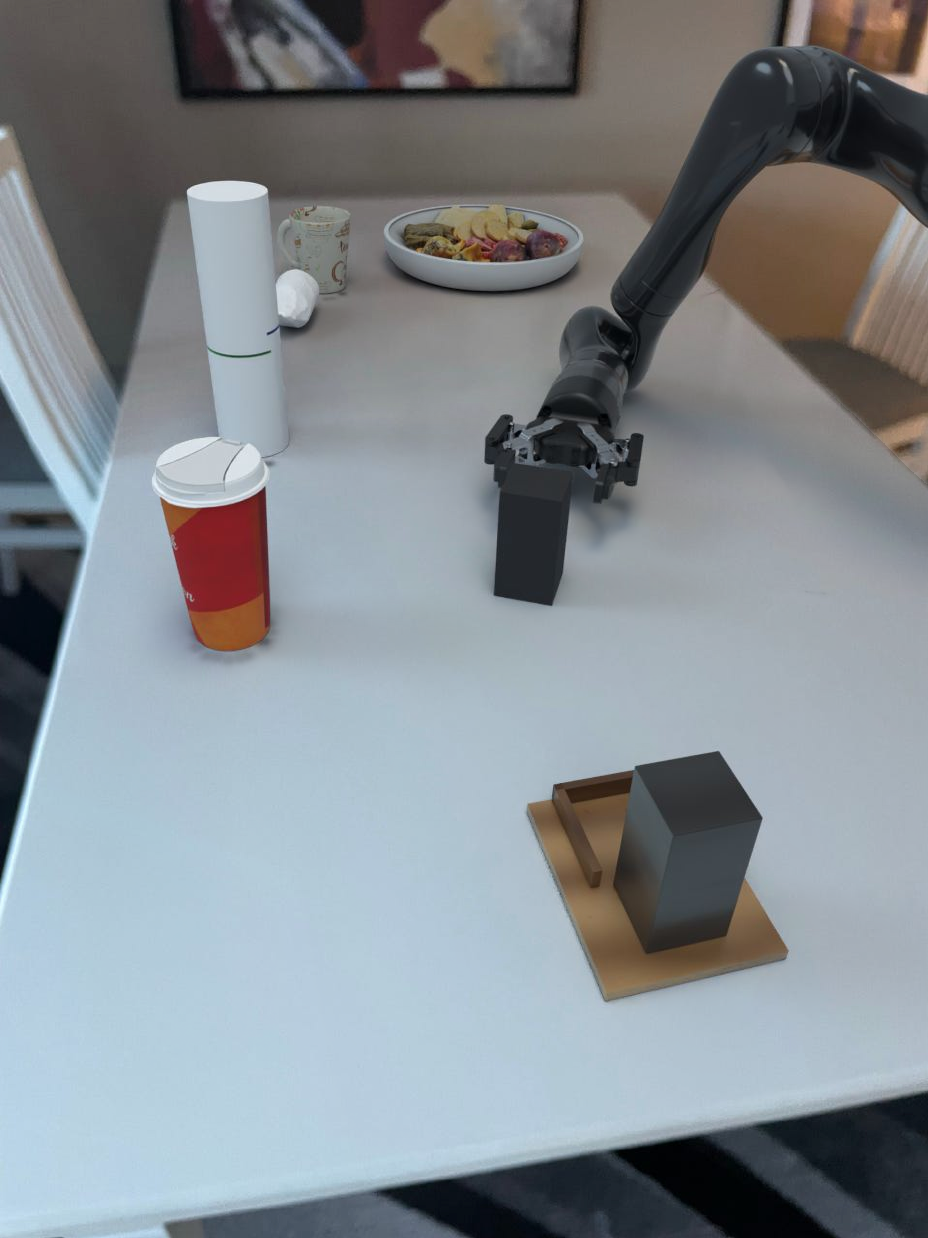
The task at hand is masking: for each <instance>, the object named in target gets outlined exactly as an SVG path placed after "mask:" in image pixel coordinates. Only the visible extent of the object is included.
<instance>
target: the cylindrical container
mask: <svg viewBox="0 0 928 1238" xmlns="http://www.w3.org/2000/svg"><path fill="white" fill-rule="evenodd" d="M186 196H187V197H186V198H187V203H188V211H189V213H188V214H189V219H190V228H191V236H192V242H193V243H192V244H193V249H194V250H193V251H194V258H195V266H196V272H197V273H196V274H197V280H198V289H199V296H200V297H199V298H200V304H201V311H202V319H203V327H204V334H205V340H206V341H205V342H206V349H207V357H208V364H209V371H210V379H211V388H212V394H213V402H214V408H215V409H214V410H215V416H216V417H215V418H216V424H217V430H218V437H221V438H222V440H223V441H225V440H226V439H230V440H234V441H239V442H243V443H242V444H241V445H247V444H248V443H249V444H251V445H252V446H254V447H255V448H256V449H257V450H258V452H259V453H260V455H261V457H262V458H267V457H271V456H274V455H276V454H279V453H281V452H282V451H285V449H286V448H287V447H288V446H289V444H290V434H289V422H288V421H289V420H288V411H287V400H286V399H287V398H286V388H285V387H286V386H285V377H284V363H283V353H282V341H281V340H282V339H281V328H280V325H279V316H278V304H277V293H276V282H277V280H276V271H275V270H276V269H275V261H274V260H275V259H274V247H273V236H272V223H271V213H270V202H269V201H270V200H269V189H268V188H267V187H266V186H265V185H263V184H259V183H256V182H251V181H243V180H217V181H208V182H203V183H199V184H196V185H192V186H191V187H189V188H188V189H187V190H186Z"/></svg>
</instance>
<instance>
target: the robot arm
mask: <svg viewBox="0 0 928 1238" xmlns="http://www.w3.org/2000/svg"><path fill="white" fill-rule="evenodd" d="M710 103H711V104H710V106H709V108H708V110H707V112H706V114H705V117H704V119H703V121H702V123H701V125H700V127H699V129H698V132H697V134H696V136H695V139H694V140H693V143H692V145H691V147H690V150H689V152H688V154H687V156H686V158H685V161H684V162H683V165H682V167H681V168H680V170H679V173H678V175H677V177H676V179H675V182H674V184H673V186H672V188H671V190H670V192H669V194H668V196H667V198H666V200H665V203H664V204H663V205H662V208H661V210H660V212H659V213H658V216H657V217H656V218H655V221H654V222H653V223H652V225H651V227H650V229H649V231H648V232H647V234H646V235H645V236H644V238H643V239H642V241H641V243H640V244H639V245H638V247H637V248H636V250H635V251H634V253H633V254H632V255H631V257H630V259H629V260H628V262H627V263H626V265H625V266H624V268H622V269H623V270H622V271H621V272H620V274H619V275H618V277H617V278H616V279H615V281H614V282H613V285H612V286H611V290H610V294H609V295H610V296H609V298H610V299H609V300H610V304H611V306H612V309H613V310H614V312H615V314H616V315H618V316H616V315H614V314H613V313H611V312H610V311H608V310H607V309H605V308H603V307H601V306H598V305H597V306H596V305H588V306H585V307H582V308H580V309H578V310H577V311H576V312H575V313H574V314H573V315H572V316H571V317H570V318H569V319H568V321H567V322H566V324H565V326H564V328H563V331H562V333H561V338H560V342H559V348H558V355H559V357H558V358H559V364H560V369H561V372H560V374H558V376H557V377H556V378H555V379H554V380H553V383H552V384H551V386H550V388H549V390H548V393H547V395H546V396H545V398H544V400H543V402H542V404H541V406H540V408H539V410H538V412H537V415H536V417H535V419H534V420H531V421H530V422H528V424H526V425H525V424H520V423H515V422H514V416H513V415H512V414H508V413H506V414H501V415H500V416H499V418H498V419H497V420H496V422H495V423H494V425H492V428H491V429H490V430H489V432H488V433H487V435H486V436H485V437H484V460H483V462H484V463H485V464H486V465H490V466H493V473H492V474H493V476H492V480H493V482H494V483H497V488H498V489H501V488H502V486H503V484H504V482H505V480H506V478H507V476H508V474H509V472H510V469H511V467H512V465H513V463H518V464H524V465H531V466H537V467H539V466H542V465H543V464H552V465H565V466H567V467H572V468H581V469H582V470H583V471H584V472H585V473H586V474H587V475H588V476H589V477H590V478H591V479H595V484H594V491H593V499H592V503H593V504H599V505H601V504H602V503H603V500H609V499H611V498H612V494H613V492H614V488H615V486H616V485H617V483H622V482H623V484H624V485H625V486H627V487H636V486H637V485H638V481H639V474H640V473H639V472H640V467H641V459H642V452H643V445H644V440H645V439H644V438H645V436H644V434H642V433H640V432H632V433H631V434H630V438H625V439H624V438H616V436H615V435H614V433H615V430H616V427H617V426H618V424H619V422H620V419H621V412H622V408H623V402H624V401H623V400H624V396H625V393H628V392H631V391H633V390H634V389H636V388H637V387H639V386H640V385H641V384H642V383H643V381H644V379H645V378H646V376H647V374H648V372H649V370H650V368H651V365H652V362H653V359H654V357H655V353H656V351H657V347H658V344H659V341H660V339H661V336H662V334H663V332H664V330H665V328H666V326H667V324H668V323H669V321H670V320H671V318H672V317H673V315H674V314H675V313H676V311H677V310H678V309H679V307H680V306H681V305H682V304H683V302H685V300H686V299H687V298H688V296H689V294H690V293H691V292H692V291H693V289H694V288H695V286H696V285H697V283H698V282H699V280H700V279H701V278H702V275H703V274H704V272H705V270H706V268H707V266H708V264H709V262H710V259H711V256H712V254H713V253H712V252H713V249H714V245H715V240H716V236H717V232H718V228H719V225H720V223H721V221H722V219H723V217H724V215H725V213H726V212H727V210H728V208H729V207H730V205H731V204H732V203H733V201H734V200H735V199H736V198H737V196H738V195H739V194H740V193H741V192H742V191H743V190H744V188H745V187H746V186H747V185H748V184H749V183H751V182H752V181H753V179H754V178H755V177H756V176H758V174H760V173H761V172H762V171H763V170H764V169H765V168H767V167H776V166H783V165H790V164H798V163H810V164H817V165H821V166H826V167H830V168H834V169H838V170H841V171H844V172H847V173H849V174H852V175H855V176H859V177H862V178H864V179H867V180H869V181H871V182H873V183H875V184H877V185H878V186H881V187H882V188H883V189H884V190H886V191H888V193H890V195H892V196H893V197H894V198H895V199H896V200H897V201H898V202H899V203H900V204H901V206H903V207H904V209H906V211H907V212H908V213H909V214H910V215H911V216H912V217H913V218H915V219H916V221H918V222H919V223H920V224H921V225H922V226H924V227H925V228H927V229H928V94H925V93H921V92H919V91H916V90H914V89H910V88H908V87H906V86H904V85H902V84H899V83H897V82H895V81H893V80H891V79H889V78H887V77H885V76H883V75H882V74H880V73H877V72H875V71H874V70H871V69H870V68H867V67H866V66H864V65H862V64H860V63H858V62H856V61H854V60H852V59H851V58H848V57H846V56H845V55H843V54H841V53H839V52H837V51H834V50H832V49H830V48H827V47H822V46H819V45H790V46H786V45H785V46H784V45H783V46H782V45H781V46H766V47H763V48H759V49H756V50H753V51H751V52H748V53H747V54H746V55H744V56H743V57H741V58H740V59H738V60H737V62H736V63H735V64H734V65H733V66H732V67H731V69H730V70H729V71H728V73H727V74H726V76H725V77H724V79H723V81H722V82H721V84H720V86H719V88H718V90H717V91H716V93H715V95H714V96H713V99H712V101H711V102H710ZM517 451H518V455H517V454H516V452H517ZM615 453H617V454H618V455H619V457H618V456H617V455H615ZM619 458H621V459H622V460H620V459H619Z"/></svg>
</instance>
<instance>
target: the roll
mask: <svg viewBox="0 0 928 1238" xmlns="http://www.w3.org/2000/svg"><path fill="white" fill-rule="evenodd" d="M276 293H277V304H278V316H279V326H281V327H282V326H283V327H289V328H296V329H298V328H302V327H303V326H306V325H307V323H308V322H309V320H310V318H311V316H312V314H313V312H314V309H315V307H316V305H317V302H318V300H319V296H320V293H319V286H318V284H317V282H316V281H315V279H314V278H313V277H311V276H310V275H309V274H307V273H306V272H304V271H301V270H299V268H294V269H289V270H286V271H284V272H283V273H282V274H280V276H279V277H278V278H277V280H276Z"/></svg>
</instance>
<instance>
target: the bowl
mask: <svg viewBox="0 0 928 1238" xmlns="http://www.w3.org/2000/svg"><path fill="white" fill-rule="evenodd" d="M584 239H585V238H584V234H583V232H582V231H581V229H580V228H579V227H577V226H576V225H575V224H573V223H571V222H570V221H568V220H566V219H564V218H562V217H558V216H556V215H553V214H549V213H547V212H542V211H539V210H538V211H537V210H534V209H528V208H522V207H517V206H516V207H515V206H509V205H508V206H507V205H503V204H502V203H501V204H497V203H495V204H494V203H493V204H449V205H439V206H431V207H425V208H421V209H416V210H411V211H409V212H406V213H402V214H399V215H398V216H396V217H394V218H392V219H391V220H389V221H388V222H387V224H386V225H385V226H384V229H383V242H384V247H385V250H386V252H387V254H388V256H389V258H390V259H391V260H392V262H393V263H394V264H395V265H396V266H397V267H398V268H399V269H400V270H402V271H403V272H405V273H406V274H408V275H409V276H412V277H413V278H416V279H418V280H420V281H423V282H426V283H429V284H433V285H436V286H440V287H445V288H451V289H455V290H456V289H457V290H465V291H476V292H503V291H505V292H506V291H517V290H524V289H530V288H535V287H538V286H542V285H546V284H548V283H551V282H553V281H556V280H558V279H559V278H562V277H563V276H565V275H566V274H568V272H570V271H571V270H572V269H573V268H574V267H575V265H576V264H577V262H578V261H579V260H580V257H581V255H582V252H583V248H584Z"/></svg>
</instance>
